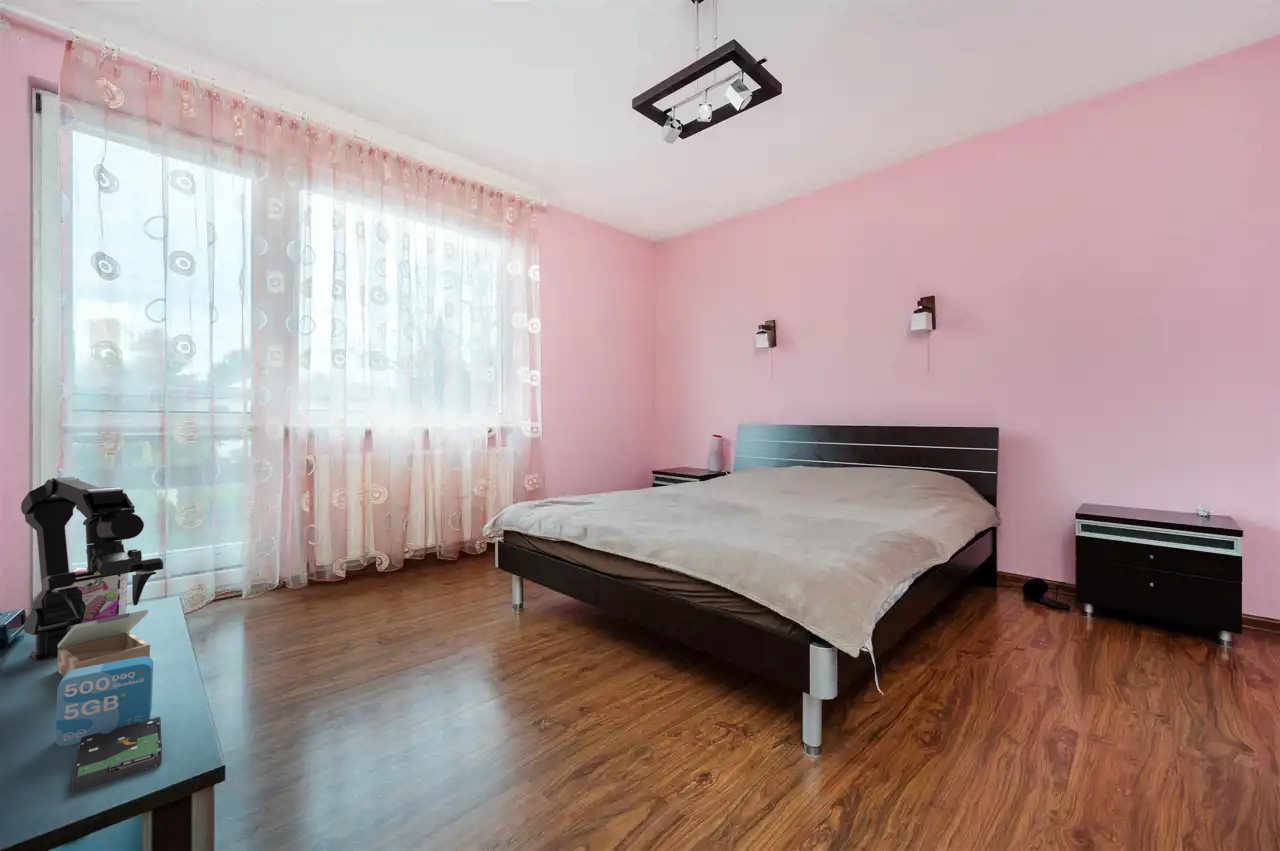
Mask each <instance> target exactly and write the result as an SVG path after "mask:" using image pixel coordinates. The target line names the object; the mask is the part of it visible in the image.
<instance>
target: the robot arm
mask: <svg viewBox="0 0 1280 851" xmlns="http://www.w3.org/2000/svg"><path fill="white" fill-rule="evenodd" d="M135 507H136V506H135V505H134V503H133V502H132V501H131V499H130V498H129V496H128V494H127V493H126V491H124V489H123V488H121V486H120V487H119V486H104V487H103V486H101V487H98V486H96V485H93V484H90V483H88V482H85V481H82V480H80V478H77V477H73V476H71V477H70V476H67V477H52V478H50V479H49V478H48V479H47V480H46V481H45V483H44V484H43V485H41V486H38V487H36V488H35V489H32V490H30V491H29V492H28V493H27V494H26V495H25V497H24V498H23V500H22V502H21V505H20V509H21V513H22V515H24V520H25V522H26V523H27V524H28V525H29V526H30V527H31V528H33V530H35V531H36V541H37V550H38V560H39V571H40V581H41V584H40V585H41V590H40V592H39V593H38V595H37V597H36V598H35V599H34V600H33V602H32V609H31V611H30V613H29V615H28V616H27V617H26V620H25V621H24V622H23V629H24V633H26V634H29V635H32V636H35V648H34V649H35V651H31V652H29V655H30V656H31V657H32V659H34V660H35V661H41V660H45V659H49V658H54V657H58V649H59V648H58V644H59V643H60V641H61V640H62V639H63V638H64V637H65V636H66V634H67V633H68V632H69V631H70V630H71V626H73V625H77V624H81V623H82V621H83V617H84V613H85V609H86V604H85V603H84V601H83V600H82V591H81V590H80V589H78V586H74V584H75V582H80V581H86V580H91V579H97V578H103V577H108V576H114V575H119V574H125V573H128V574H130V573H134V572H135V574H132V578H131V579H132V580H131V581H132V583H131V585H132V588H131V589H132V596H131V597H132V604H133V606H138V604H139V601H140V598H141V595H142V593H143V590H144V588H145V585H146V584H147V582H148V581H149V579H150V578H151V576H153V575H156V574H157V571H160V570H164V562H163V559H162V558H160V557H155V558H148V559H143V555H142V550H141V549H140V548H134V549H128V551H127V552H125V551H126V550H125V547H124V544H123V541H124V540H130V539H134V538H136V537H138V536H139V535H140V534H141V533H142V531H143V530H144V527H145V523H144V521H143V519H142V518H141V517H140V516H139V515H138V514H135V512H136V510H135ZM74 509H76V510H77V511H78V512H80V513H81V514H82V515H83V517H85V518H86V519H85V520H83V522H82V524H83V526H85V540H86V549H85V551H86V552H85V553H86V561H87V567H86V568H87V572H86V573H81V574H75V573H74V572H71V573H69V571H70V566H69V555H68V547H67V546H68V545H67V544H68V543H67V536H66V535H67V533H66V525H67V524H68V522H69V521H70V520H71V519H72V517H73V515H74ZM97 571H98V572H99V573H98V574H95V575H94V573H96V572H97Z"/></svg>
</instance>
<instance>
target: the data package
mask: <svg viewBox="0 0 1280 851" xmlns="http://www.w3.org/2000/svg"><path fill="white" fill-rule="evenodd" d="M153 677H154V660H153V659H152V657H146V656H143V657H137V658H132V659H126V660H121V661H115V662H110V663H105V664H99V665H94V666H89V667H83V668H78V669H74V670H71V671H69V672H68V673H66V674H65V676H62V679H61V680H60V682H59V684H58V686H57V688H56V689H57V690H56V714H55V716H56V718H55V720H56V721H55V743H56V745H58V746H59V747H71V746H75V745H80V741H81V738H82V737H84V736H88V735H92V734H96V733H99V732H100V733H101V734H107V733H110V732H111V731H114V730H115V729H116V728H119V727H122V726H126V725H130V724H135V723H139V722H142V721H146V720H149V719H151V714H152V709H153V684H154V683H153V680H154V679H153Z"/></svg>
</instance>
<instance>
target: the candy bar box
mask: <svg viewBox="0 0 1280 851" xmlns="http://www.w3.org/2000/svg"><path fill="white" fill-rule="evenodd" d="M71 572H74V573H75V574H81V573H86V572H87V567H77V568H73V569H72V570H69V573H71ZM98 573H99V572H98V571H97V572H96V573H94V575H95V574H98ZM128 575H129V573H125V574H119V575H114V576H108V577H103V578H97V579H91V580H86V581H80V582H75V584H74V586H78V589H80V590H81V591H82V600H83V601H84V603H85V604H86V609H85V613H84V617H83V621H82V623H86V622H91V621H96V620H99V619H102V618H107V617H112V616H117V615H122V614H126V613H127V601H128V597H127V596H128ZM73 626H74V625H73ZM73 626H71V629H72V627H73Z"/></svg>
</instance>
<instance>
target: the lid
mask: <svg viewBox="0 0 1280 851" xmlns="http://www.w3.org/2000/svg"><path fill="white" fill-rule="evenodd" d="M148 613H149V610H148V609H144V610H139V611H134V612H126V614H122V615H117V616H112V617H107V618H102V619H99V620H96V621H91V622H86V623H81V624H77V625H74V626H73V627H72V629H71V630H70V631H69V632H68V633H67V634H66V636H65V637H64V638H63V639H62V640H61V641H60V643H59V644H58V648H63V647H68V646H72V645H76V644H80V643H85V642H89V641H93V640H98V639H102V638H106V637H110V636H115V635H119V634H123V633H128V632H129V633H130V632H131V630H132V629H133V628H134V627H136V626H137V624H139V623H140V622H141V621H142V620H143V618H144V617H145V616H147V614H148Z"/></svg>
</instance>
